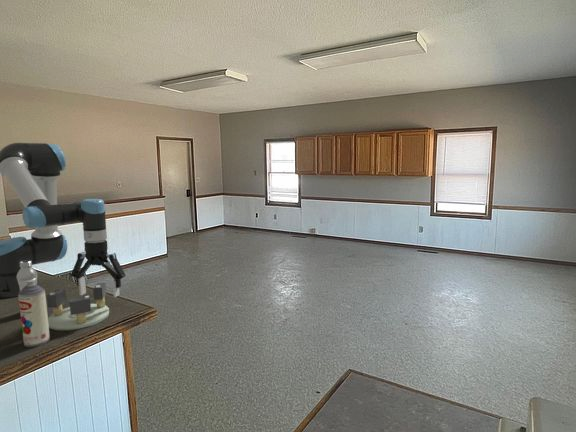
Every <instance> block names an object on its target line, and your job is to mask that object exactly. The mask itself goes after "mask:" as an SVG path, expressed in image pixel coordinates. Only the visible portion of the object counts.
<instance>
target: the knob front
mask: <svg viewBox="0 0 576 432" xmlns="http://www.w3.org/2000/svg"><path fill="white" fill-rule="evenodd" d="M90 304H91V297H90V295H86V296H85V295H84V296H83V297H75V298H70V299H69V307H70V312H71V315H74V314H76V316H77V324H84V323H86V312H90V311H91V305H90Z"/></svg>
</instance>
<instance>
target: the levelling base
mask: <svg viewBox="0 0 576 432" xmlns="http://www.w3.org/2000/svg"><path fill="white" fill-rule="evenodd" d="M90 305H91V311H90V312H86V323H84V324H77V316H76V314H74V315H71V312H70V306H68V307H65V308H63V314H62V315H60V316H54V312H53V313H51V315H49V316H48V324H49V329H51V330H53V331H73V330H80V329H85V328H89V327H91V326H94V325H98V324H99V323H101V322H102V321H104V320H106V319H107V318H108V317H109V315H110V308H109V306H107V305H106V304H105V307H102V308H97V303H90Z"/></svg>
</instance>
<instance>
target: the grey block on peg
mask: <svg viewBox="0 0 576 432" xmlns="http://www.w3.org/2000/svg"><path fill="white" fill-rule="evenodd" d="M92 289H93V290H92V291H93V293H92V294H93V300H94V301H96V304H97V308H102V307H105V305H106V300H105V299H106V298H105V296H106V295H107V287H106V282H97V283H96V284H95V285H94V287H93V288H92Z"/></svg>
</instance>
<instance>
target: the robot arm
mask: <svg viewBox="0 0 576 432" xmlns="http://www.w3.org/2000/svg"><path fill="white" fill-rule="evenodd" d="M66 166H67V163H66V156H65V154H64V151H63V150H62V148H61V147H60V146H59V145H57V144H55V143H54V144H53V143H48V142H47V143H46V142H45V143H44V142H42V143H41V142H40V143H39V142H37V143H36V142H35V143H34V142H13V143H9V144H8V145H6V146H4V147H3V148H2V149H0V175H2V176H3V177H5V178H7V181H8V183H9V184H10V185H11V187H12V188H13V190H14V192H15V193H16V195H17V197H18V199H19V200H20V202H21V203H22V205H23V207H24V208H23V209H22V213H21V214H22V221H23V224H24V225H25V227H26V228H30V229H33V228H34V230H33V232H31V233H30V237H31V238H29V239H27V238H26V236H16V237H15V236H13V237H10V238H6V239H2V240H0V299H5V298H15V297H18V295H19V292H20V288H19V284H18V281H17V274H18V272H19V270H20V269H21V267H20V262H21V261H24V260H31V261H32V266H34V265H35V266H36V265H40V264H44V263H51V262H55V261H59V260H62V259H63V258H65V256H66V255H67V253H68V242H67V238H66V236H65V235H64V234H63V233H62V231H60V230H59V228H58V227H59V226H61V225H68V224H69V225H70V224H77V223H78V224H79V223H82V230H83V239H84V240H83V241H85V242H84V251H85V252H84V251H81V252H78V253H77V258H76V262H75V263H74V266H73V269H72V270H71V272H70V274H71V275H70V276H71V277H73V278H75V279H76V286H77V287H78V288H79V289H78V291H79V296H83V295H85V294H86V293H87V287H86V277H85V276H84V274H85V273H86V272H87V271H88V269H89V268H90V267H91V266H101V267H102V268H104V269H105V270H106V271H107V272H108V274H109V275H110V277H112V278H113V279H112V290H113V291H112V292H113V298H117V297H118V296H119V295H121V294H120V288H121V287H122V281H121V280H122V279H124V278H125V277H126V273H125V271H124V270H123V267H122V266H121V264H120V262H119V260H118V259H117V253H116V252H113V253H108V249H109V248H108V241H107V239H108V235H107V223H106V222H107V220H106V207H105V202H104V200H103V199H102V198H101V199H100V198H86V199H82V201H72V202H70V203H59V204H58V189H57V188H58V187H57V185H58V184H57V179H58V178H60V176H61V172H62V171H65V170H66ZM85 258H86V261H85V263H84V260H85ZM83 263H84V265H83Z"/></svg>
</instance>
